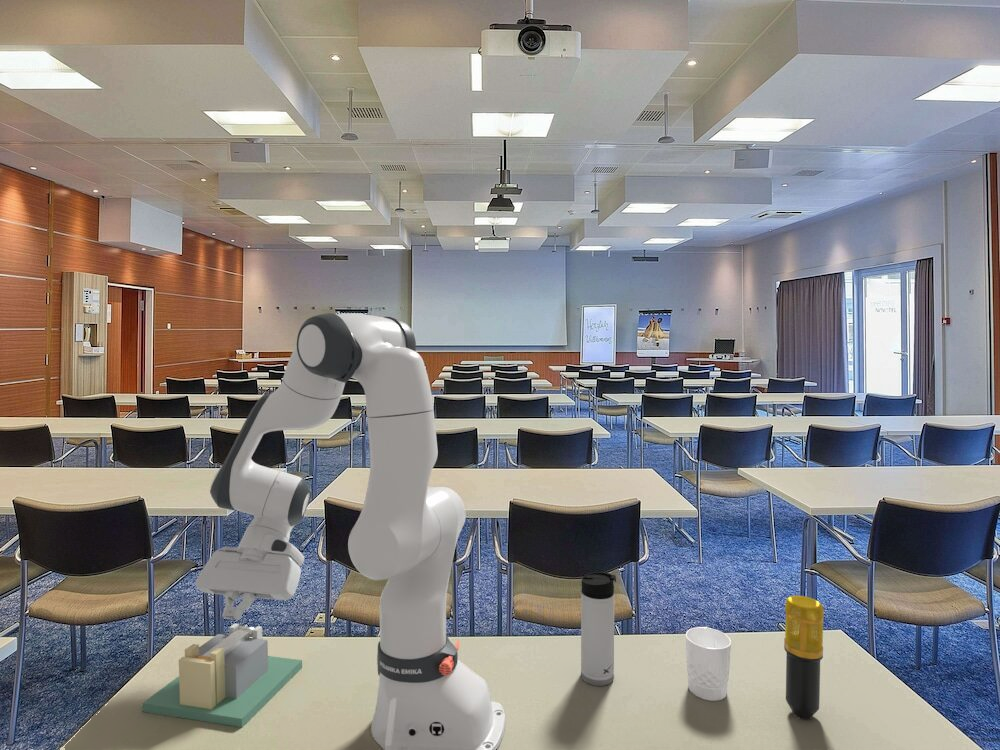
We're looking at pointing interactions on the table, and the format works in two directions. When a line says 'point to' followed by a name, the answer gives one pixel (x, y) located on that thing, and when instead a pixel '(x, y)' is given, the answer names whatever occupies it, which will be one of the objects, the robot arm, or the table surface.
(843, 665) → the table surface
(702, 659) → the white cup
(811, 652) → the microphone
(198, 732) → the table surface
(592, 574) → the travel mug
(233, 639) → the retention strap
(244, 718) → the base
